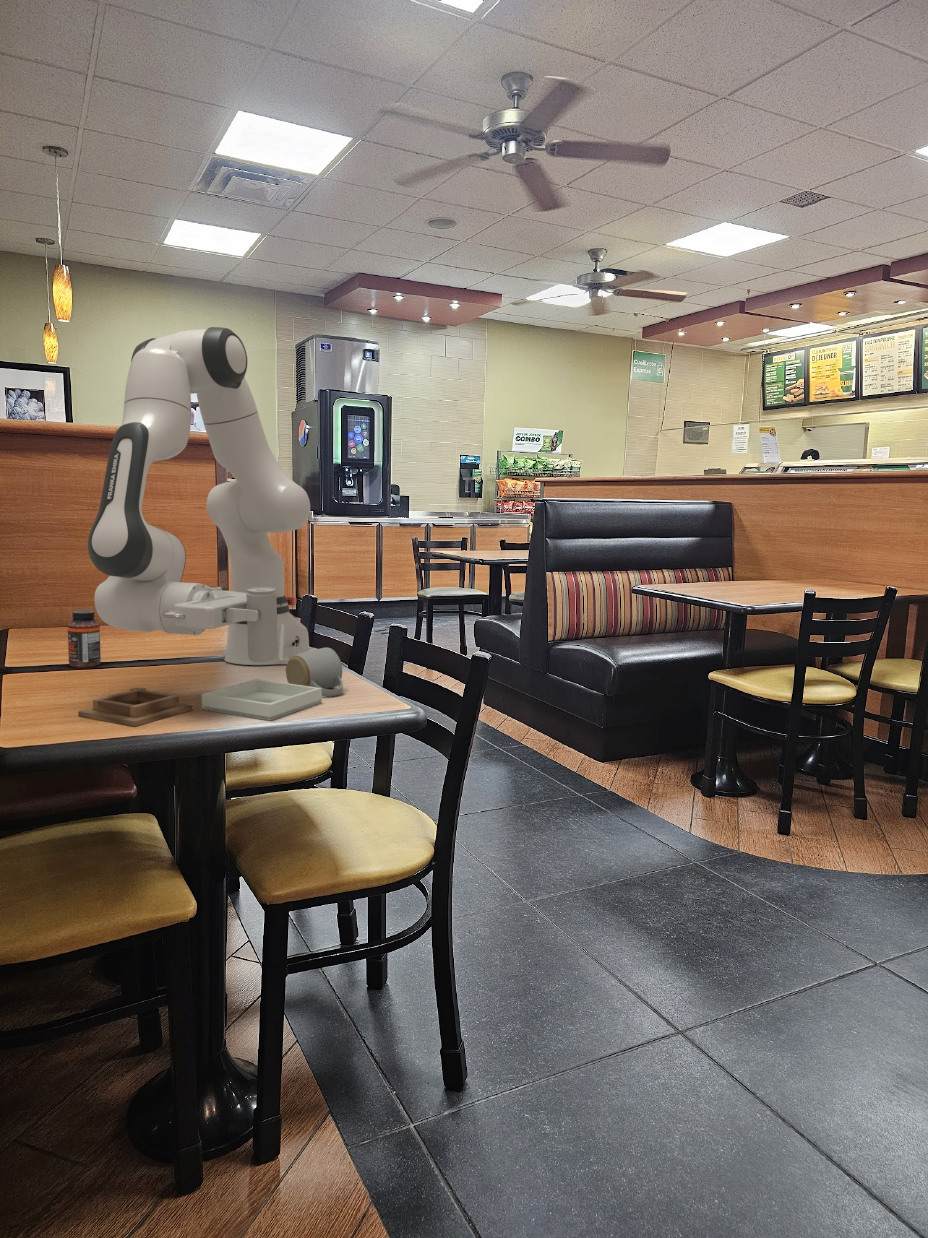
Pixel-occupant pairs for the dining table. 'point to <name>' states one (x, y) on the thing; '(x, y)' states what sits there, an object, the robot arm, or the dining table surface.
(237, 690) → the tray
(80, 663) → the supplement bottle
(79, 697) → the dining table surface
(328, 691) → the ceramic mug
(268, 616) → the beverage can
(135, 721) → the walnut collar
